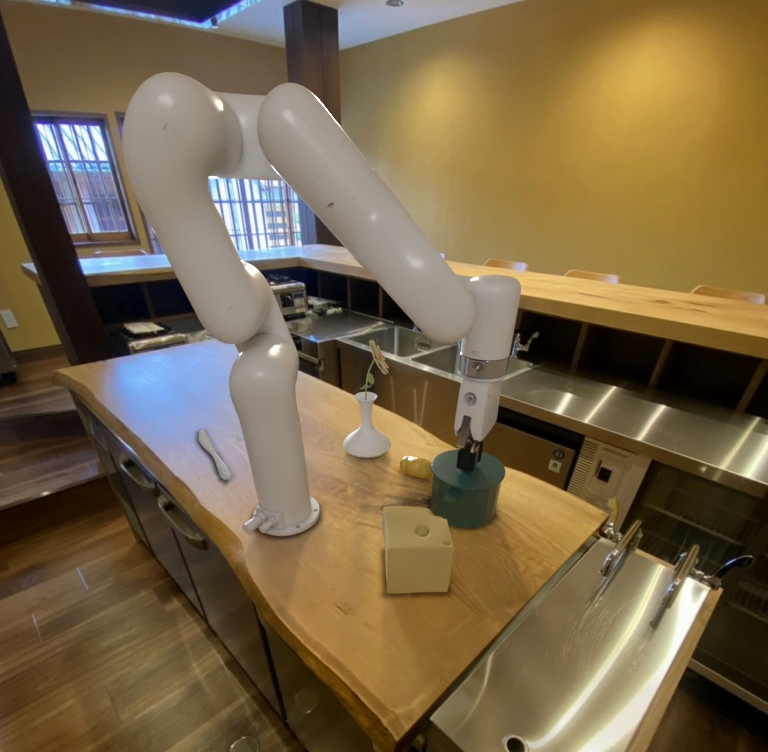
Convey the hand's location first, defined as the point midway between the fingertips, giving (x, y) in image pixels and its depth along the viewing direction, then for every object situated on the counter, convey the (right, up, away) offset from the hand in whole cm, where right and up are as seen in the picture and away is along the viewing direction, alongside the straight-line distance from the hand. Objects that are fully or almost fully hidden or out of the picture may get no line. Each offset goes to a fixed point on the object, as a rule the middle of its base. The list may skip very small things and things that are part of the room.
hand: (468, 463), depth 78 cm
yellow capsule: (-8, -1, +16) cm, 18 cm away
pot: (0, -8, +6) cm, 10 cm away
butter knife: (-56, +5, +23) cm, 61 cm away
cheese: (-11, -19, -8) cm, 23 cm away
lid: (0, -1, +1) cm, 1 cm away
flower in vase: (-19, +6, +25) cm, 32 cm away
